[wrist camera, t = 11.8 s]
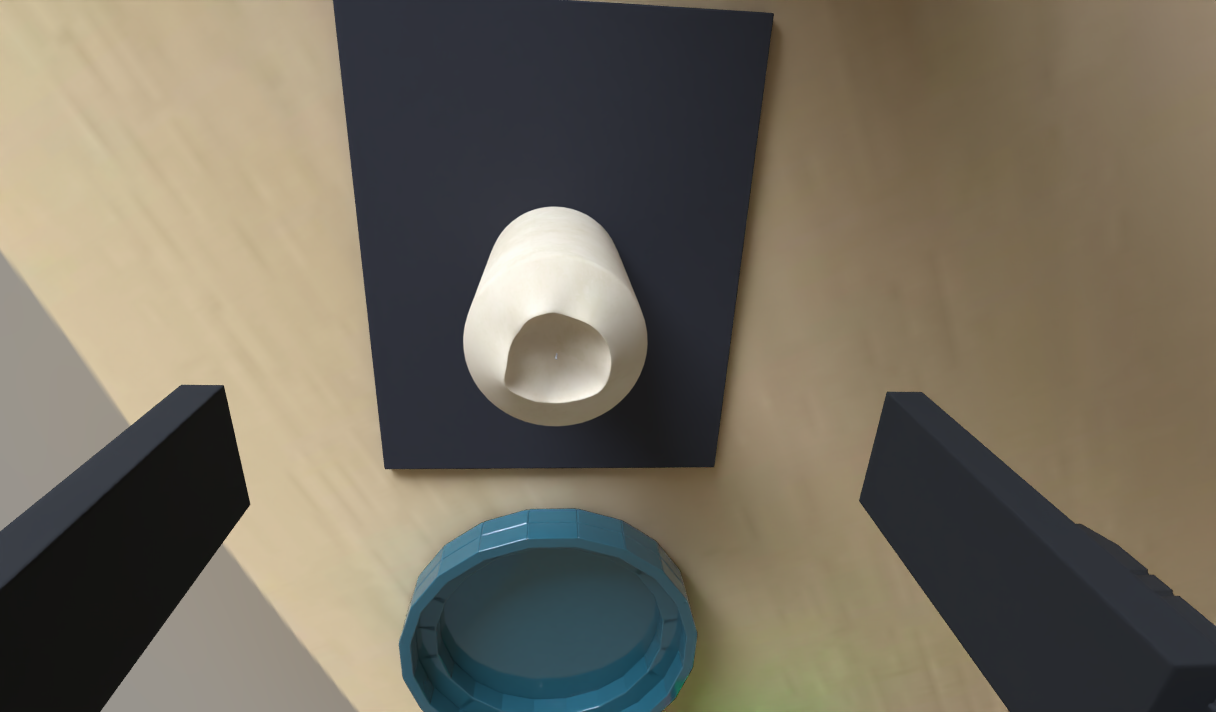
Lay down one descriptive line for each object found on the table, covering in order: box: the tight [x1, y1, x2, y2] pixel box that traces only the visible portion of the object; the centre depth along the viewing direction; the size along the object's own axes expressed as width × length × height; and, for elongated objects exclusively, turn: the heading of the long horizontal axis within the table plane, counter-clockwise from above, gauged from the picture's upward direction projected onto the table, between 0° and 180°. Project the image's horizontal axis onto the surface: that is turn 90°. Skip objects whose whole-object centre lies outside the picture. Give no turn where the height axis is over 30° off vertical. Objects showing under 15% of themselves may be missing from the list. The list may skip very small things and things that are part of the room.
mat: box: [333, 0, 774, 469], centre depth 27 cm, size 20×16×1 cm
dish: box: [399, 509, 697, 712], centre depth 33 cm, size 15×15×3 cm
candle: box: [463, 207, 648, 426], centre depth 22 cm, size 6×6×10 cm
